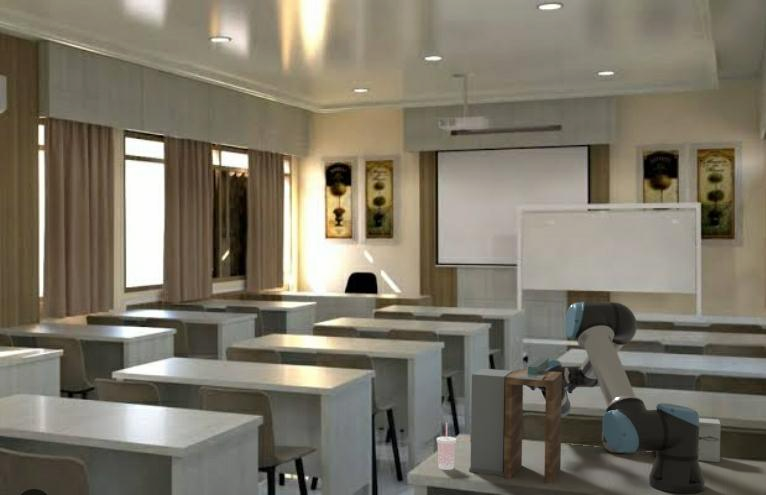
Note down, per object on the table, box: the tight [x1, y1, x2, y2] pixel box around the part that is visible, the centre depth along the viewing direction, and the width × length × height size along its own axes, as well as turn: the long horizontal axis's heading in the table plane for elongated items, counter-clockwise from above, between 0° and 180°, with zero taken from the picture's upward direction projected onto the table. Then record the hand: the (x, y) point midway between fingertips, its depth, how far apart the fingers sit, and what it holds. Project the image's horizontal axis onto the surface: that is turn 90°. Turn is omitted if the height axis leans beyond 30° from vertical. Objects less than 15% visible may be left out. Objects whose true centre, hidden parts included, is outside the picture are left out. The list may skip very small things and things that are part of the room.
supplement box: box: [698, 417, 722, 463], centre depth 282 cm, size 7×7×13 cm
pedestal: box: [468, 368, 514, 476], centre depth 268 cm, size 11×13×30 cm
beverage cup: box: [436, 422, 457, 471], centre depth 268 cm, size 6×6×14 cm
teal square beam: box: [515, 357, 550, 380], centre depth 265 cm, size 8×26×3 cm, turn 159°
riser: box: [503, 368, 562, 484], centre depth 262 cm, size 14×16×30 cm
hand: (544, 370), depth 280 cm, fingers open, 13 cm apart
